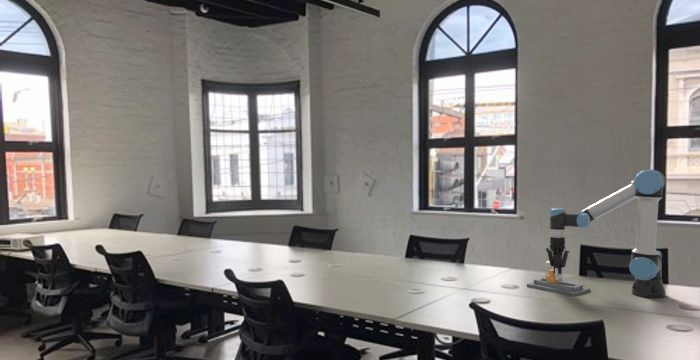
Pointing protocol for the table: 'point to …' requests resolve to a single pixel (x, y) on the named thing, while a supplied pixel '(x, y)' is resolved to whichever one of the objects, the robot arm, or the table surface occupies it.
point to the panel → (559, 287)
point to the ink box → (549, 267)
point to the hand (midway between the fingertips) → (557, 279)
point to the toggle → (551, 277)
